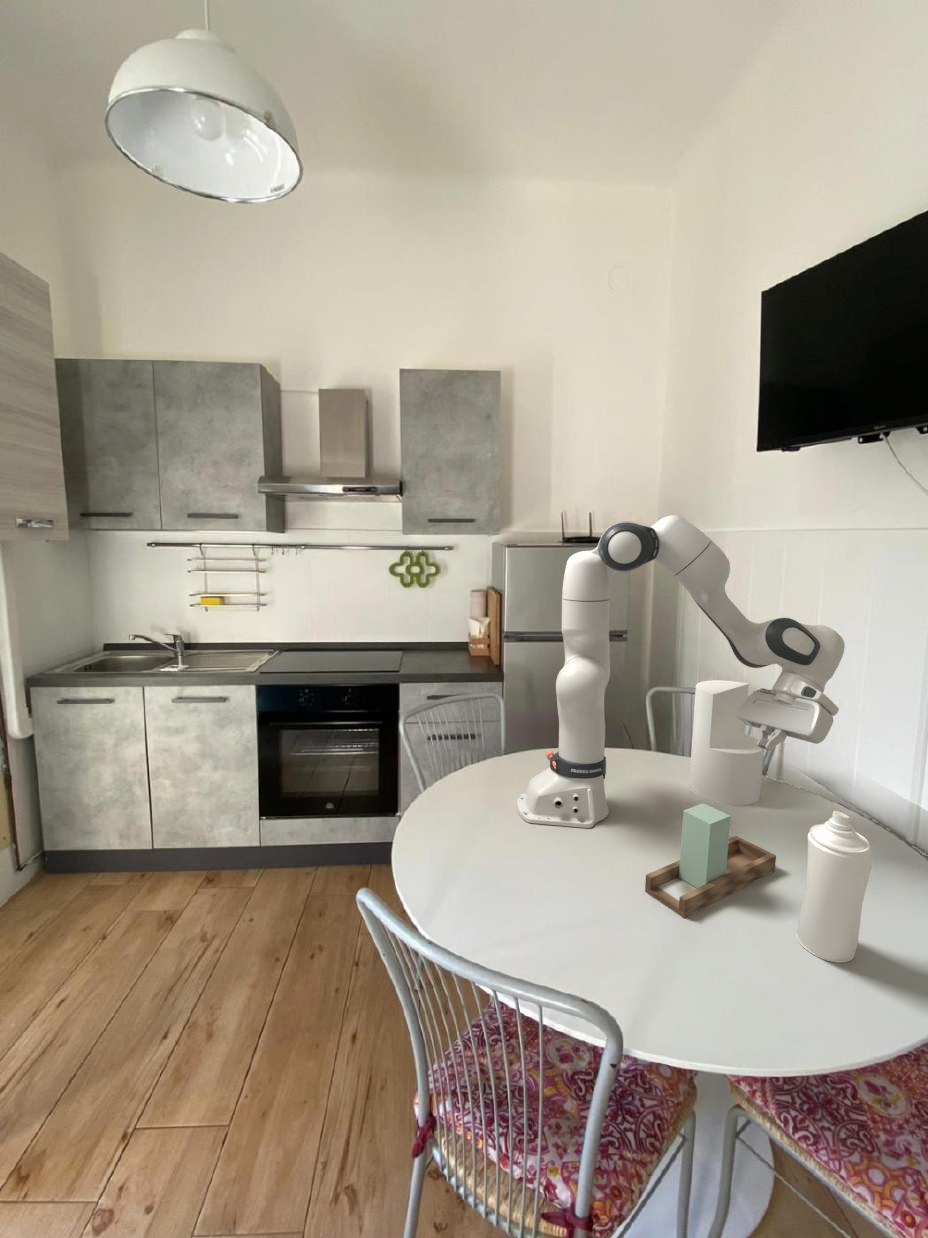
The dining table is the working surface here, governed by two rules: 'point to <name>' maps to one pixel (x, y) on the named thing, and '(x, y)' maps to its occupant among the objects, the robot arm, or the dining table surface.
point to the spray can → (834, 889)
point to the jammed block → (703, 845)
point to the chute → (740, 871)
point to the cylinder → (723, 746)
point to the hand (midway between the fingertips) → (763, 748)
